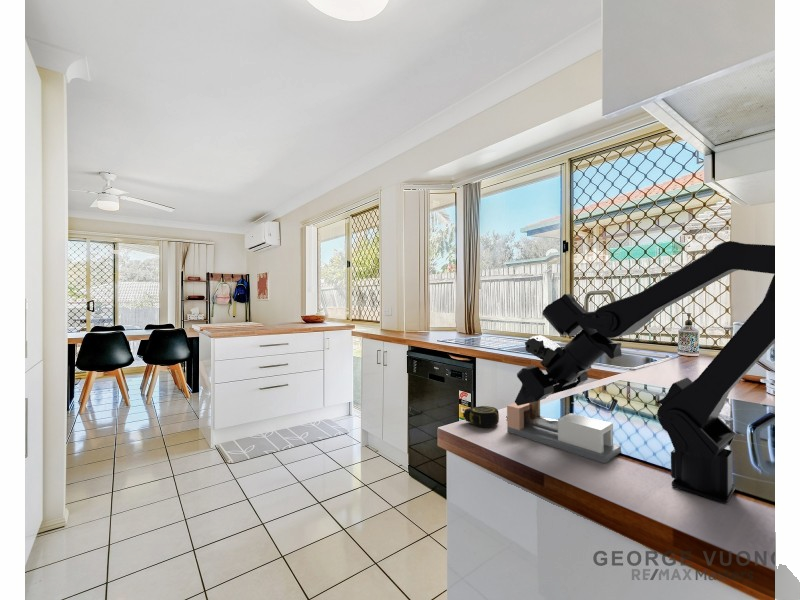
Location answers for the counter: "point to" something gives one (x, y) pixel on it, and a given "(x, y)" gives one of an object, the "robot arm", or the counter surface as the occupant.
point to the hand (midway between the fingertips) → (528, 399)
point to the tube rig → (568, 434)
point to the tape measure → (482, 416)
